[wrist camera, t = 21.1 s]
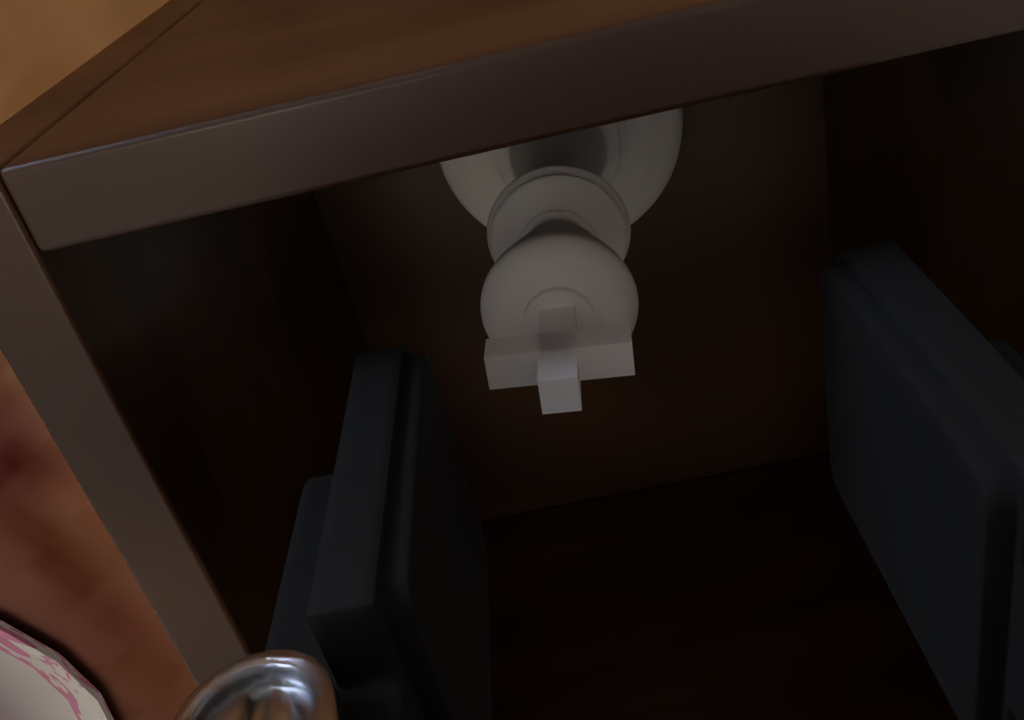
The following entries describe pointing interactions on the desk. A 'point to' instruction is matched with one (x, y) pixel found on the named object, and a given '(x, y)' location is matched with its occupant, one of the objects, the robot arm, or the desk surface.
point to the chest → (460, 331)
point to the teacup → (43, 683)
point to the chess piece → (564, 250)
